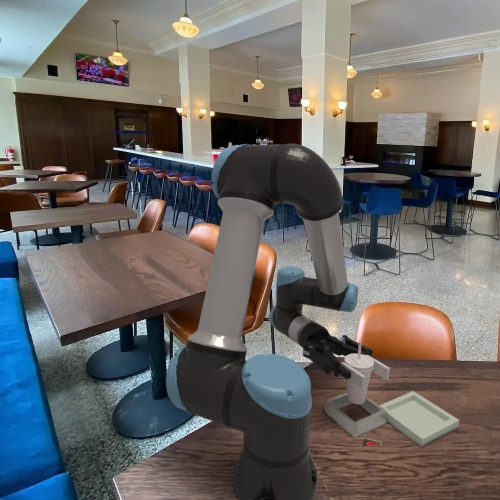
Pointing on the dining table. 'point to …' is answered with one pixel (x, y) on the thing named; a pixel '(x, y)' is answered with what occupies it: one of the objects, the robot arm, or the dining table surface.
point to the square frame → (347, 423)
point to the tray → (419, 418)
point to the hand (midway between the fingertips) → (376, 378)
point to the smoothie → (365, 368)
